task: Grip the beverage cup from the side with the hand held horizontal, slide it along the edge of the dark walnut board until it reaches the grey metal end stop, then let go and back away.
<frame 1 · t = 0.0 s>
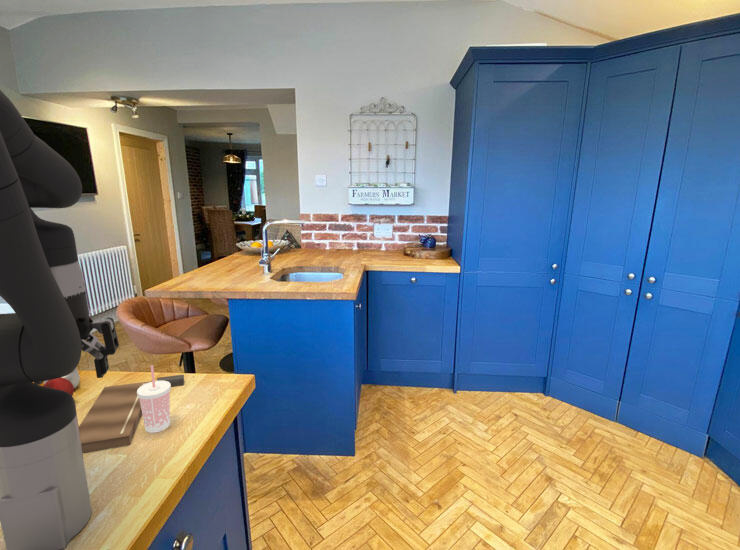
hand: (72, 378, 61), 17 cm above the countertop, tool pointing down, fingers open, 8 cm apart
beverage cup: (157, 426, 77), on the countertop
plastic bottle: (63, 390, 88), on the countertop
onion: (59, 407, 82), on the countertop
walnut board: (116, 416, 79), on the countertop
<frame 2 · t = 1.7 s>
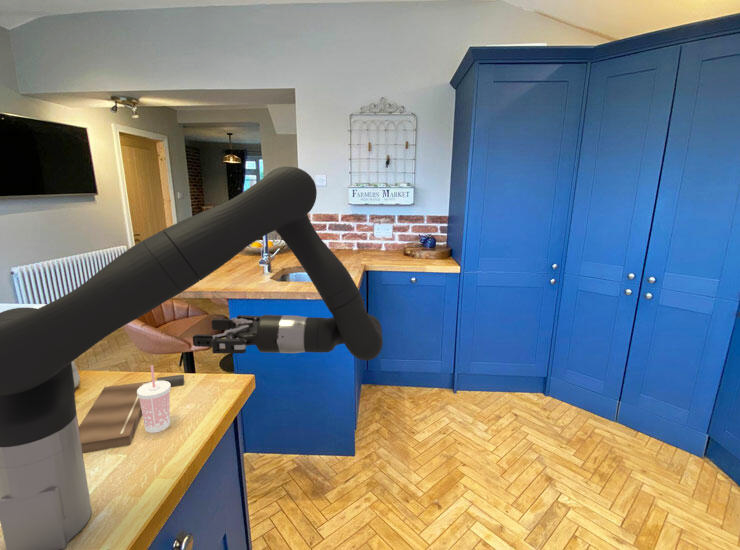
hand: (203, 331, 72), 22 cm above the countertop, tool horizontal, fingers open, 8 cm apart
nothing on the countertop moved.
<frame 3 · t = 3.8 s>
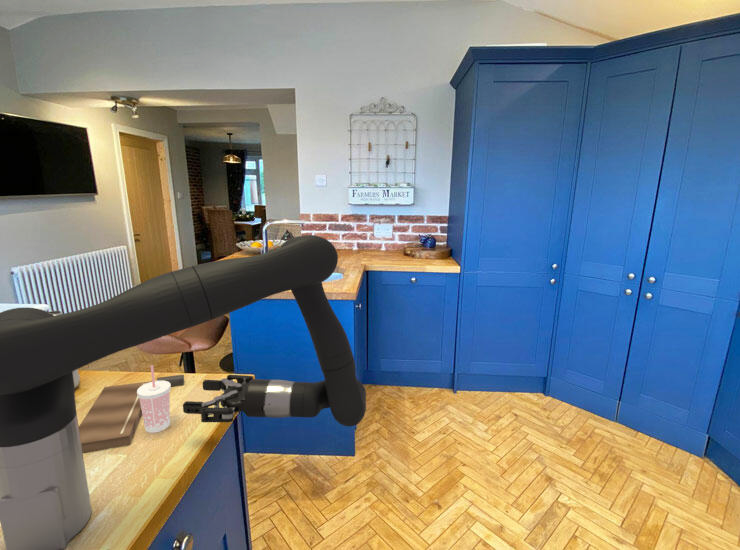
hand: (194, 395, 75), 7 cm above the countertop, tool horizontal, fingers open, 8 cm apart
nothing on the countertop moved.
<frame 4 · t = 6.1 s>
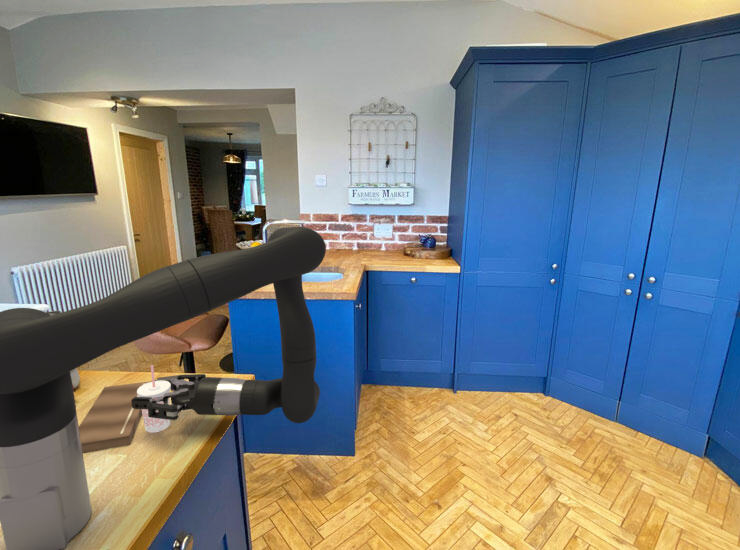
hand: (143, 393, 75), 8 cm above the countertop, tool horizontal, fingers closed on beverage cup, 6 cm apart
beverage cup: (157, 426, 77), on the countertop, touching gripper
everything else where it was.
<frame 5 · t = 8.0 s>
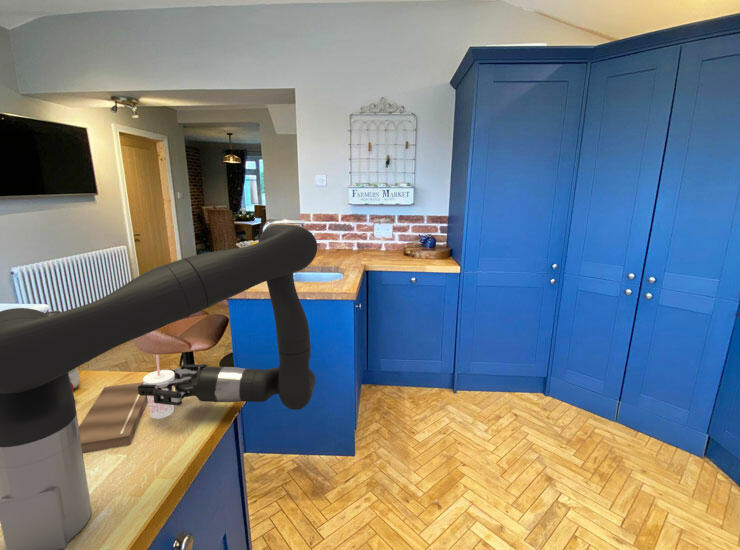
hand: (148, 381, 80), 8 cm above the countertop, tool horizontal, fingers closed on beverage cup, 6 cm apart
beverage cup: (162, 413, 81), on the countertop, touching gripper
everything else where it was.
when the fingers open (8 cm above the countertop, at t = 10.1 s): beverage cup stays where it is, on the countertop.
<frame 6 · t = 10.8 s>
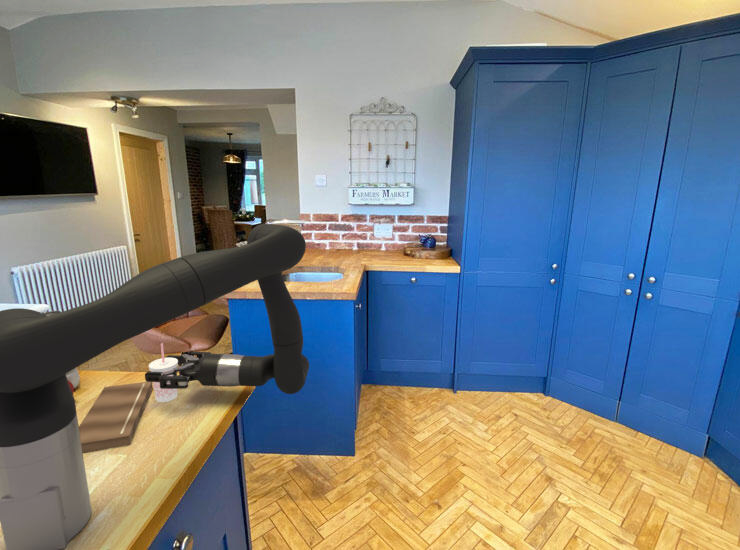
hand: (156, 367, 86), 8 cm above the countertop, tool horizontal, fingers open, 8 cm apart
beverage cup: (166, 397, 87), on the countertop
everything else where it was.
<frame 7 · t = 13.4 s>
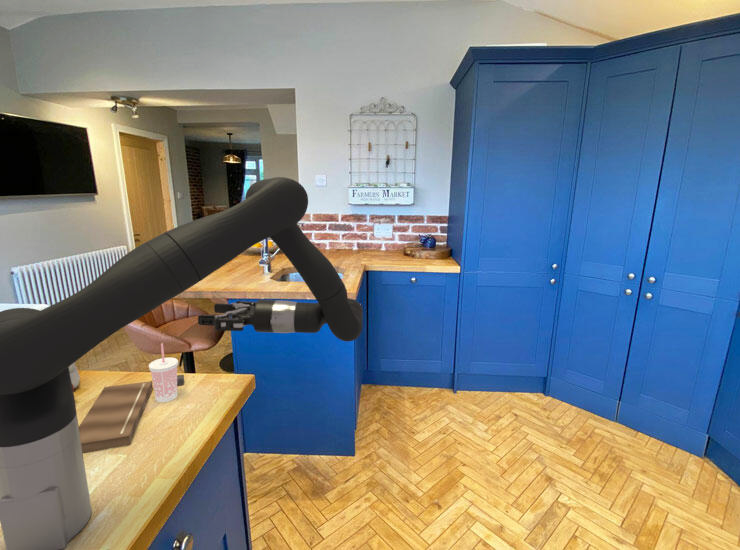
hand: (207, 313, 83), 22 cm above the countertop, tool horizontal, fingers open, 8 cm apart
nothing on the countertop moved.
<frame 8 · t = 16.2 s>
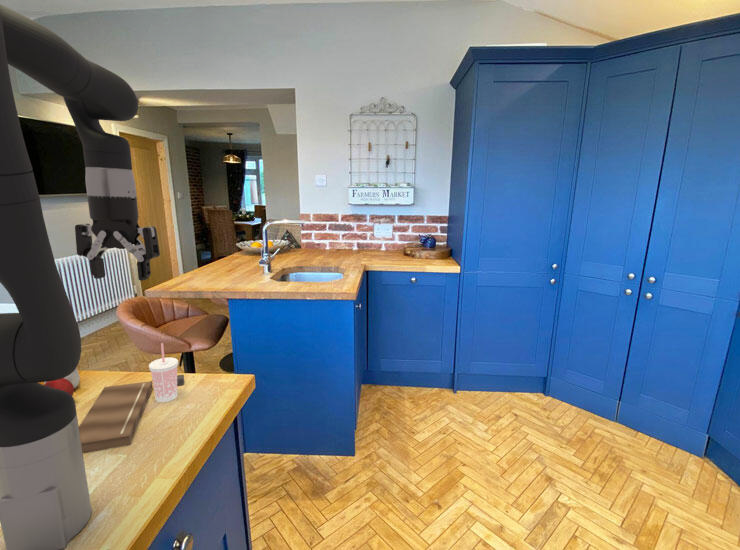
hand: (122, 278, 70), 32 cm above the countertop, tool pointing down, fingers open, 8 cm apart
nothing on the countertop moved.
at the end: beverage cup 0.6 cm from the target spot, on the countertop; beverage cup tilted 0°; the gripper is holding nothing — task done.
